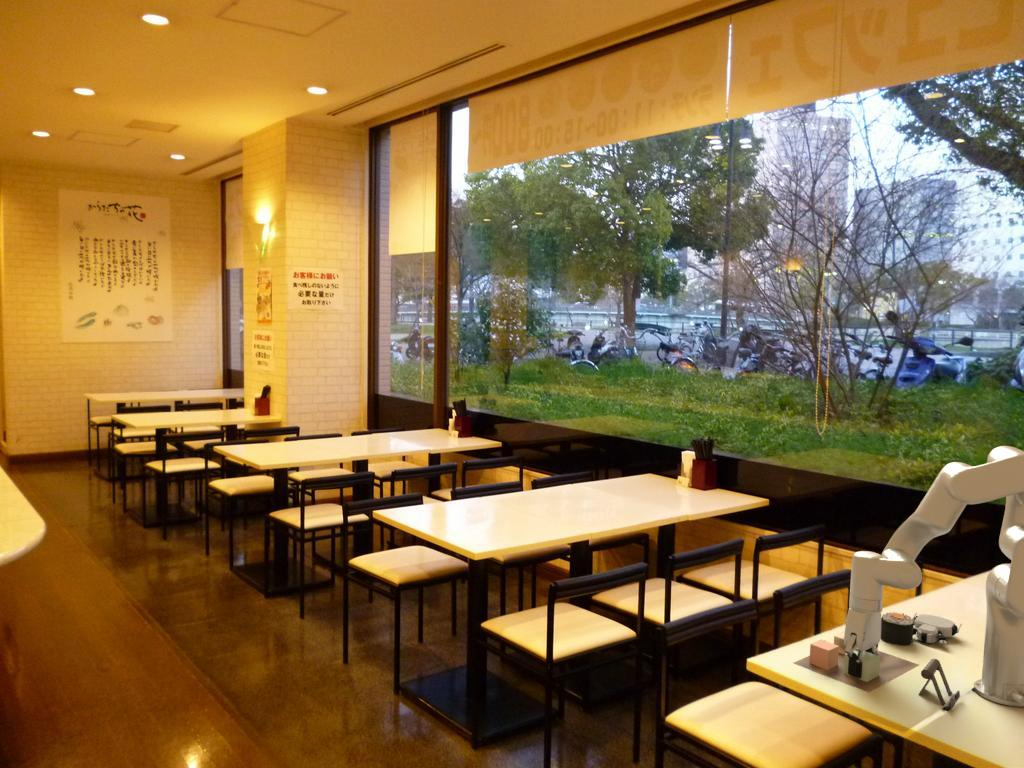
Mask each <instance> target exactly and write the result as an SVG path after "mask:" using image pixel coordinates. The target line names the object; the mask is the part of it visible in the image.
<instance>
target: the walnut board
mask: <svg viewBox="0 0 1024 768" xmlns="http://www.w3.org/2000/svg"><path fill="white" fill-rule="evenodd" d="M876 655H878V656H880V669H879V676H878V677H876V678H874V679H872V680H870V681H868V682H865V681H863V680H860V679H857V678H855V677H852V676H850V675H847V674H844V660H845V655H844V654H842V653H839V656H838V665H837V666H835V667H833V668H830V669H828V670H827V669H824V668H821V667H819V666H816V665H813V664H811V663H809V662H810V655H808V656H805V657H803V658H801V659H799V660H796V661H795V662H793V664H795V665H796V666H800V667H803V668H805V669H808V670H810V671H813V672H815V673H816V674H817V673H818V674H820V675H823V676H825V677H828V678H831V679H832V680H835V681H838V682H840V683H844V684H846V685H848V686H851V687H853V688H857V689H859V690H860V691H861V690H862V691H864V692H866V693H870V692H873V691H875V690H877V689H878V688H881V687H882V686H884V685H885V684H887V683H889V682H890V681H892V680H895V679H896V678H898V677H899V676H902V675H903V674H905V673H907V672H909V671H911V670H913V669H915V668H916V667H918V666H920V664H919V663H916V662H912V661H909V660H907V659H903V658H901V657H898V656H894V655H891V654H889V653H886V652H884V651H881V650H878V652H877V654H876Z"/></svg>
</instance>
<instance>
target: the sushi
mask: <svg viewBox="0 0 1024 768" xmlns="http://www.w3.org/2000/svg"><path fill="white" fill-rule="evenodd" d="M913 628H914V619H913V617H912V616H910V615H907V614H905V613H902V614H901V613H899V612H896V611H893V612H886V613H884V614H882V615H881V638H880V641H883V642H884V643H888V644H893V645H895V646H899V647H900V646H901V647H908V646H911V645H912V644H913V640H914V639H913V638H914V637H913V636H914V635H913Z"/></svg>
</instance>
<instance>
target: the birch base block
mask: <svg viewBox="0 0 1024 768" xmlns="http://www.w3.org/2000/svg"><path fill="white" fill-rule="evenodd" d="M844 634H845V630H844V631H843V632H841V633H838V634H836V635H834V637H833V644H835V645H838V646H839V653H842V654H844V655H845V654H846V652H845V648H846V646H844ZM854 648H858V649H859V647H858V646H854ZM878 651H879V646H878V647H877V652H878Z"/></svg>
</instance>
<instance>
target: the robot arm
mask: <svg viewBox="0 0 1024 768" xmlns="http://www.w3.org/2000/svg"><path fill="white" fill-rule="evenodd" d="M986 461H987V462H986V463H984V464H979V465H976V466H973V465H970V464H969V463H968V464H967V463H965V462H959V461H953V462H949V463H947V464H946V465H944V466H943V467H942V469H941V470H940V471H939V473H937V474H938V475H937V476H936V477H935V479H934V481H933V482H932V484H931V486H930V487H929V489H928V491H927V492H926V494H925V496H924V497H923V499H922V500H921V501H920V503H919V505H918V507H917V508H916V509H915V511H914V512H913V513H912V514H911V515H910V516H909V517H908V518H907V519H906V520H905V521H903V522H902V523H901V525H899V527H898V528H897V529H896V530H895V531H894V533H893V534H892V536H891V537H890V539H889V541H888V543H887V544H886V546H885V548H883V551H882V552H881V554H879V553H878V552H877V553H876V552H874V551H867V550H861V551H856V552H855V553H853V555H852V556H851V569H850V570H851V571H850V584H849V585H850V586H849V587H850V588H849V602H848V603H849V604H848V606H849V608H848V611H847V615H846V620H845V626H844V627H845V628H844V631H845V634H844V646H846V648H845V652H846V653H847V656H848V660H849V663H848V674H849V675H851V676H854V677H856V678H859V679H860V678H861V675H862V662H861V658H862V654H863V651H867V652H870V653H872V654H875V655H876V654H877V647H878V648H879V645H880V642H881V639H880V638H881V618H882V612H883V603H884V587H885V586H886V587H890V588H894V589H898V590H906V591H908V590H909V591H911V590H913V589H915V588H917V587H919V586H920V584H921V583H922V580H923V572H922V570H921V568H920V566H919V565H918V564H917V563H916V559H917V557H918V555H919V554H920V552H921V551H922V550H923V548H924V546H926V545H927V544H928V543H929V542H930V541H932V540H933V539H934V538H937V537H939V536H943V535H946V534H948V533H949V532H950V531H951V530H952V529H953V527H954V525H955V524H956V523H957V521H958V519H959V517H960V516H961V514H962V513H963V511H964V509H965V508H966V506H967V505H977V504H978V505H979V504H983V503H987V502H991V501H995V500H998V499H1002V498H1005V499H1006V500H1005V510H1004V515H1003V519H1002V525H1001V528H1000V534H999V539H998V546H999V549H1000V550H1001V552H1002V554H1004V555H1005V556H1006V557H1007V558H1008V559H1009V560H1011V562H1010V563H1001V564H999V565H996V566H995V567H993V568H992V569H991V570H990V571H989V573H988V574H987V577H986V580H985V597H986V617H985V618H986V620H985V632H984V645H983V660H982V674H981V678H980V679H977V680H975V681H974V683H973V689H974V691H975V693H977V694H978V695H979V696H981V697H983V698H984V699H986V700H989V701H991V702H994V703H997V704H1001V705H1004V706H1010V707H1017V708H1019V707H1020V708H1021V707H1023V708H1024V450H1022V449H1019V448H1017V447H1014V446H1010V445H1000V446H997V447H995V448H993V449H992V450H991V451H990V452H989V454H988V455H987V460H986ZM854 646H858V647H859V649H857V648H854ZM854 650H855V651H858V656H857V655H856V653H854Z"/></svg>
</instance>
